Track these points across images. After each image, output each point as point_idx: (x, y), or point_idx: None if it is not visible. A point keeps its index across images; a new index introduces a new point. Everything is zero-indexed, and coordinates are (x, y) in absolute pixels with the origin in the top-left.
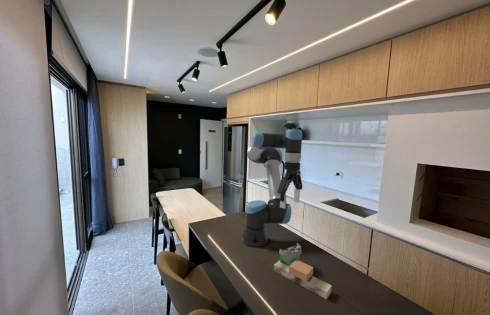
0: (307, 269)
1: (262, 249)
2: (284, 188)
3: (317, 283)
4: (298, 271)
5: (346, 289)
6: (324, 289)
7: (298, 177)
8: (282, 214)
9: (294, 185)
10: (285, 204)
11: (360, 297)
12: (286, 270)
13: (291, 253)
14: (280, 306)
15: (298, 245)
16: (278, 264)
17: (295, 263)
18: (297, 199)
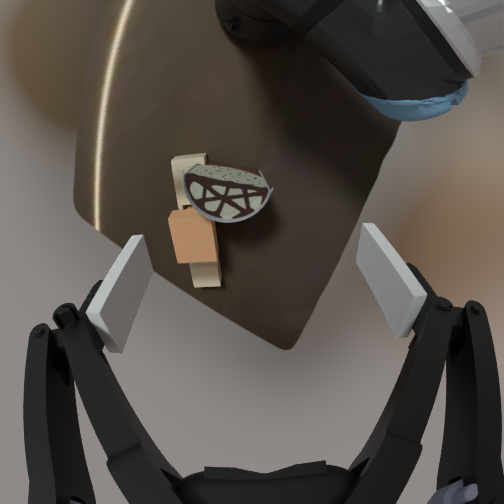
0: (196, 255)
1: (238, 59)
2: (71, 399)
3: (200, 267)
4: (174, 242)
5: (254, 290)
6: (197, 281)
7: (449, 452)
8: (365, 84)
9: (420, 339)
10: (141, 290)
11: (252, 309)
12: (178, 198)
13: (198, 210)
14: (112, 233)
15: (264, 200)
16: (181, 168)
17: (192, 224)
18: (365, 265)
